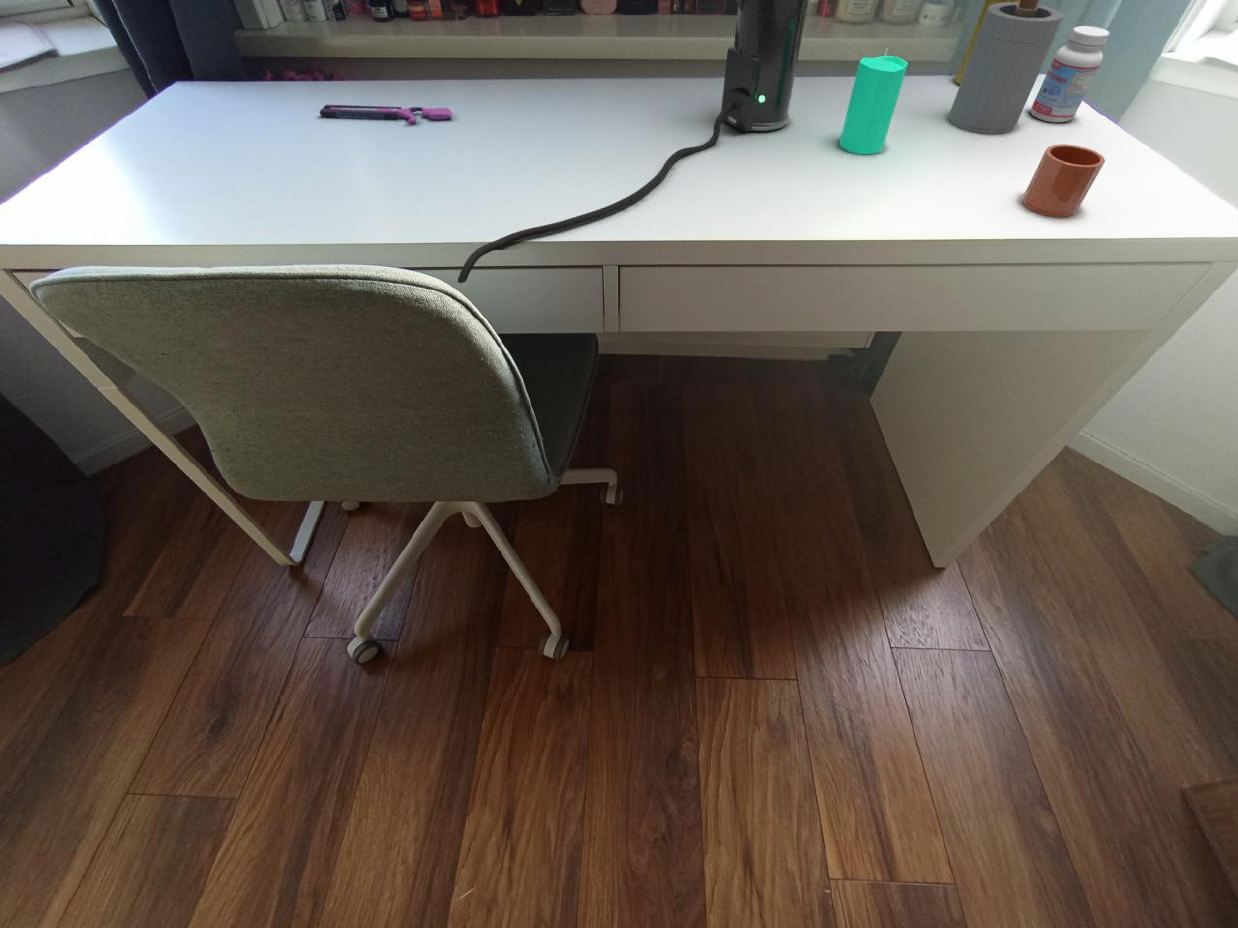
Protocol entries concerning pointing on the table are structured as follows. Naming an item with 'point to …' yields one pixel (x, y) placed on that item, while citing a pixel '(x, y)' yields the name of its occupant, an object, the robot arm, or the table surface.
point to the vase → (988, 1)
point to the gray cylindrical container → (1003, 68)
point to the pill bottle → (1070, 75)
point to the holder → (1062, 180)
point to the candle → (872, 103)
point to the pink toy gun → (383, 112)
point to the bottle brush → (1026, 8)
